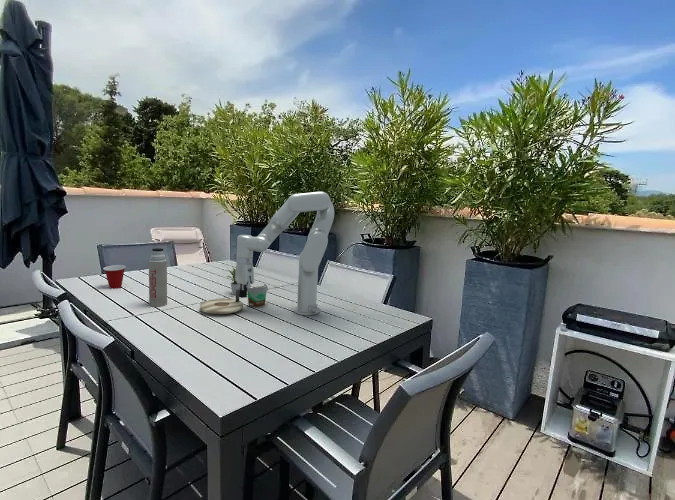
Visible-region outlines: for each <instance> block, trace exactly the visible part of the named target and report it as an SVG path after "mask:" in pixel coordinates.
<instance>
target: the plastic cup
mask: <svg viewBox="0 0 675 500" xmlns="http://www.w3.org/2000/svg"><path fill="white" fill-rule="evenodd" d="M102 269H103V271H104V273H105V276H106V280H107V284H108V287H109V289H110V290H111V289H120V288H122V286H123V281H124V273H125V270H126V265H123V264H114V265H109V266H105V267H103V268H102Z"/></svg>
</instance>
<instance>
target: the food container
mask: <svg viewBox="0 0 675 500" xmlns="http://www.w3.org/2000/svg"><path fill="white" fill-rule="evenodd" d="M267 291H269V288H268V285H267V284H266V283H264V285H261V286H253V287H249V288H248V289H247V306H248V307H250V308H251V307H252V308H261V307H264V306H265V305H266V298H267Z"/></svg>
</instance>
